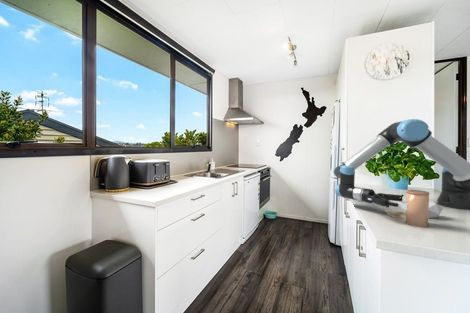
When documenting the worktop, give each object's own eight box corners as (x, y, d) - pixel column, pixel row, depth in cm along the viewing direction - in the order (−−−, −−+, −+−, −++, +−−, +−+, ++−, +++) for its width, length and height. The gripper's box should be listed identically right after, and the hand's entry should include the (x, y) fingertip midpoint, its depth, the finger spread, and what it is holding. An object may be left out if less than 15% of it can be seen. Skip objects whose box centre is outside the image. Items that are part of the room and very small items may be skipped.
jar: (426, 222, 90) (427, 190, 89) (430, 228, 84) (431, 194, 83) (404, 219, 95) (404, 189, 94) (406, 224, 88) (407, 192, 88)
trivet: (412, 214, 102) (412, 213, 102) (416, 220, 93) (416, 219, 93) (385, 210, 108) (385, 209, 108) (386, 216, 99) (386, 215, 99)
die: (445, 222, 91) (449, 204, 94) (426, 213, 93) (431, 195, 95) (428, 222, 99) (432, 205, 102) (411, 213, 100) (416, 197, 103)
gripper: (375, 198, 114) (424, 207, 96) (351, 205, 102) (401, 217, 83) (375, 185, 114) (424, 192, 95) (351, 191, 101) (402, 200, 83)
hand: (414, 204), depth 89 cm, fingers open, 13 cm apart
